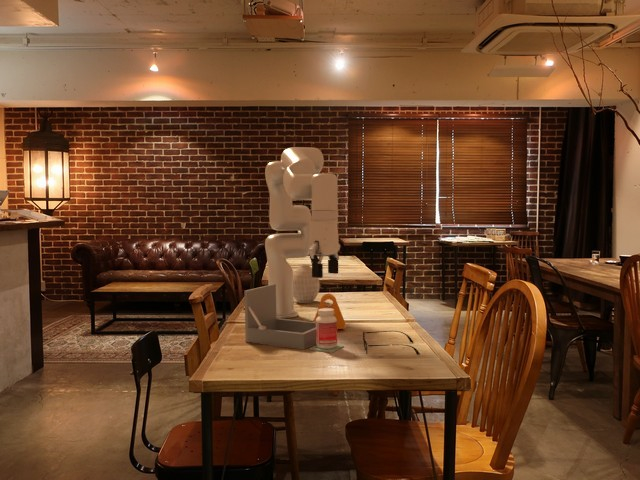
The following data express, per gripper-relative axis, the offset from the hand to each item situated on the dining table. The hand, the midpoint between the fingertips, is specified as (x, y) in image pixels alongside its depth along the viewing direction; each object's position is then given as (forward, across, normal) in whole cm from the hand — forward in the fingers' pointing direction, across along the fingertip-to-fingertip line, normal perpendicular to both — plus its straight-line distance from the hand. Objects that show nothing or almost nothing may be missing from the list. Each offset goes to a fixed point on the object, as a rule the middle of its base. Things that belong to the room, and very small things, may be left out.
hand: (325, 275), depth 157 cm
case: (+22, -4, -15) cm, 27 cm away
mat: (+22, 0, 0) cm, 22 cm away
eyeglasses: (+22, -8, +17) cm, 29 cm away
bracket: (+22, -23, -11) cm, 34 cm away
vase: (+23, -65, -45) cm, 82 cm away
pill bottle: (+21, 0, 0) cm, 21 cm away
